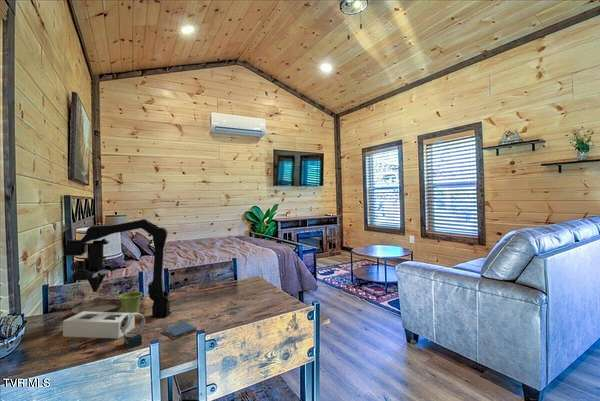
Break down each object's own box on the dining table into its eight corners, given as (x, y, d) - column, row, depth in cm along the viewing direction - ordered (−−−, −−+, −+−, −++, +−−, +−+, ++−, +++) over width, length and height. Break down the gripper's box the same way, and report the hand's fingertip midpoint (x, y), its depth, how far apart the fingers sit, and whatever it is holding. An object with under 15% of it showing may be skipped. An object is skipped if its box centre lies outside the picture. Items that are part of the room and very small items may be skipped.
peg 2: (121, 329, 123) (122, 315, 123) (114, 334, 118) (114, 319, 118) (110, 328, 124) (110, 314, 124) (102, 333, 119) (102, 319, 119)
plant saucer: (61, 315, 139) (61, 308, 139) (108, 302, 157) (108, 296, 157) (88, 324, 129) (88, 316, 129) (134, 309, 148) (134, 302, 148)
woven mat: (184, 325, 130) (184, 320, 130) (199, 332, 123) (199, 327, 123) (160, 333, 122) (160, 328, 122) (174, 341, 115) (174, 335, 115)
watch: (117, 345, 110) (118, 314, 110) (142, 338, 116) (142, 309, 116) (122, 350, 106) (122, 318, 106) (147, 343, 112) (147, 313, 112)
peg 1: (98, 328, 124) (98, 314, 124) (89, 333, 119) (89, 318, 119) (86, 327, 124) (86, 313, 124) (77, 332, 119) (77, 318, 119)
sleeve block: (134, 327, 126) (134, 313, 126) (118, 338, 116) (118, 322, 116) (83, 325, 127) (83, 311, 127) (62, 336, 117) (63, 320, 117)
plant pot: (126, 319, 135) (126, 299, 135) (114, 314, 140) (115, 295, 140) (146, 312, 143) (146, 293, 143) (135, 308, 148) (135, 290, 148)
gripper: (93, 251, 141) (93, 285, 141) (59, 258, 122) (58, 298, 122) (116, 251, 140) (116, 286, 140) (85, 259, 121) (85, 298, 121)
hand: (95, 291), depth 131 cm, fingers closed
